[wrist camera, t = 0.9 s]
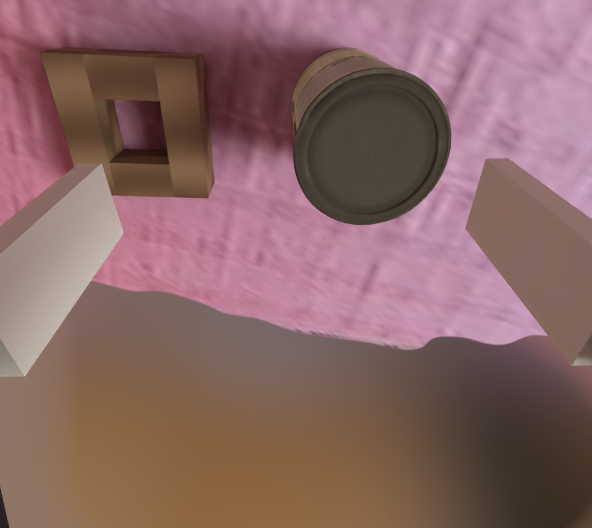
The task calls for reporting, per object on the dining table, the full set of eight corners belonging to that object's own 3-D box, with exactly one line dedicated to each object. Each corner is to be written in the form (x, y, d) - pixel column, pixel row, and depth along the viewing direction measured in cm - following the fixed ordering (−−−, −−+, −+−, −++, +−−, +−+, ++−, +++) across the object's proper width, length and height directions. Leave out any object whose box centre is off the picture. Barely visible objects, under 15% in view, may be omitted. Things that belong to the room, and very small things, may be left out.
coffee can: (420, 99, 36) (484, 144, 24) (345, 179, 40) (370, 249, 29) (341, 17, 32) (374, 25, 20) (268, 116, 36) (261, 168, 25)
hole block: (64, 47, 33) (39, 52, 30) (203, 54, 33) (194, 59, 30) (99, 178, 40) (82, 194, 36) (214, 182, 40) (207, 198, 37)
